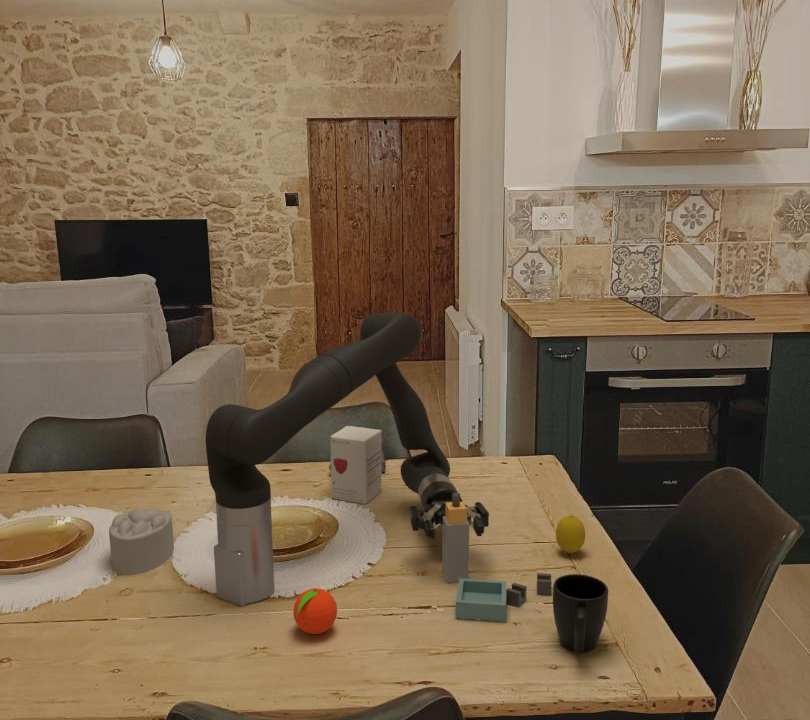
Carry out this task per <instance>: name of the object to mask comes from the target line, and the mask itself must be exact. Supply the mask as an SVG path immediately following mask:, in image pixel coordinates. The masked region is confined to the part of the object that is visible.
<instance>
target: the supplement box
mask: <svg viewBox="0 0 810 720" xmlns="http://www.w3.org/2000/svg"><path fill="white" fill-rule="evenodd" d="M382 431H383V430H382V429H376V428H375V429H374V428H368V427H363V426H362V427H360V426H353V425H352V426H351V425H346V426H344V427H343V428H342V429H340V430H338V431H336V432H335V433H333V434H332V435H330V457H331V460H330V464H331V471H330V473H331V474H330V487H331V488H330V491H331V492H330V495H331V497H330V498H331V499H332V498H335V499H334V500H337V499H339V501H344V502H350V503H356V504H362V505H367V504H369V502H371V500H373V499H374V498H375V497H377V496H378V494H380V493H381V492H382V473H381V437H382V433H383V432H382Z"/></svg>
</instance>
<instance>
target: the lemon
mask: <svg viewBox="0 0 810 720" xmlns="http://www.w3.org/2000/svg"><path fill="white" fill-rule="evenodd" d="M555 539H556V543H557V545H558V547H559V548H560V549H561V550H563V551H564V552H566V554H568V555H571V554H573V553H576V552H578V551H580V549H581V548H582V547H583V546H584V544H585V542H586V529H585V525H584V523H583V521H582V520H581V519H580V518H578V517H577V516H574V514H569V515H566V516H564V517H562V518H561V519H560V520H559V522H558V523H557V525H556V529H555Z"/></svg>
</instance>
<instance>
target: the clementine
mask: <svg viewBox="0 0 810 720" xmlns="http://www.w3.org/2000/svg"><path fill="white" fill-rule="evenodd" d="M337 615H338V607H337V602H336V600H335V598H334V597H333V595H332V594H331V593H330V592H329V591H327V590H324V589H323V588H319V587H314V588H313V587H312V588H309V589H306V590H305V591H304V592H302V593H301V594H300V595H299V596H298V597H297V598H296V600H295V602H294V604H293V619H294V621H295V623H296V625H297V627H299V628H300V629H301V630H302V631H303V632H305V633H307V634H311V635H319V634H322V633H324V632H326V631H328V630H330V628H331V627H332V626H333V625H334V623H335V621H336V619H337Z"/></svg>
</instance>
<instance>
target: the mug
mask: <svg viewBox="0 0 810 720" xmlns="http://www.w3.org/2000/svg"><path fill="white" fill-rule="evenodd" d="M552 586H553V587H552V588H553V589H552V612H553V617H554V623H555V626H556V631H557V634H558V639H559V642H560V645H561V646H562V647H563V648H564V649H566V650H568V651H571V652H575V653H577V654H582V653H589V652H591V651H593V650H595V648H597V647H596V646H597V643H598V641H599V639H600V636H601V634H602V631H603V628H604V626H605V625H604V624H605V620H606V617H607V611H608V601H609V589H608V588H609V587H608V586H607V585H606V583H605V582H603V581H602V580H600V579H599V578H596V577H594V576H590V575H587V574H582V573H581V574H578V573H571V574H565V575H561V576H559V577H558V578H556V579H555V580H554V582H553V585H552Z"/></svg>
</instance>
